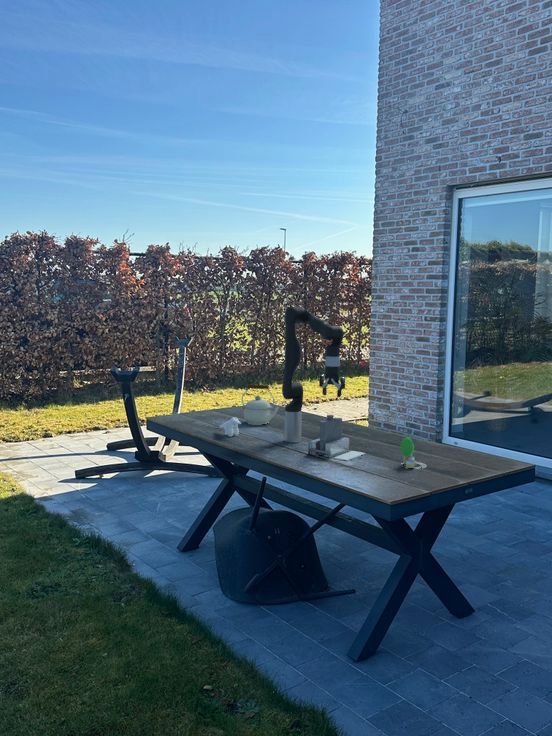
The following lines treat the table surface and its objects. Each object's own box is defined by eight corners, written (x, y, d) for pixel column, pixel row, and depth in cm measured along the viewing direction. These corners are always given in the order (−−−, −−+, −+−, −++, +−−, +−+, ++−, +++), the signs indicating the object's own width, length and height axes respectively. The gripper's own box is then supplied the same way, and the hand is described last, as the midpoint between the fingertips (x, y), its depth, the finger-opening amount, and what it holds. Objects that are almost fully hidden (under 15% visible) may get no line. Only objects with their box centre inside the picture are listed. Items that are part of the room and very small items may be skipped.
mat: (333, 458, 314) (333, 457, 314) (352, 451, 328) (352, 450, 328) (347, 461, 309) (347, 460, 309) (365, 454, 324) (365, 453, 324)
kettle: (236, 424, 397) (236, 385, 394) (246, 419, 414) (246, 382, 412) (274, 427, 390) (274, 387, 387) (282, 421, 407) (283, 383, 404)
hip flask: (323, 456, 319) (323, 417, 317) (317, 454, 322) (317, 416, 320) (342, 451, 330) (343, 413, 328) (336, 449, 333) (337, 412, 331)
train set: (419, 443, 291) (392, 438, 300) (418, 471, 293) (391, 466, 302) (433, 437, 303) (407, 433, 312) (432, 465, 304) (407, 460, 313)
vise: (307, 454, 322) (307, 441, 322) (328, 447, 338) (328, 434, 337) (329, 458, 314) (329, 445, 313) (349, 451, 329) (350, 438, 329)
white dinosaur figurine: (237, 438, 355) (235, 418, 355) (214, 435, 374) (212, 416, 374) (246, 436, 360) (245, 417, 359) (223, 433, 378) (222, 415, 378)
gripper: (316, 364, 323) (316, 395, 325) (340, 366, 314) (339, 398, 316) (324, 363, 329) (324, 393, 331) (348, 365, 320) (347, 396, 322)
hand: (331, 396), depth 323 cm, fingers open, 8 cm apart
